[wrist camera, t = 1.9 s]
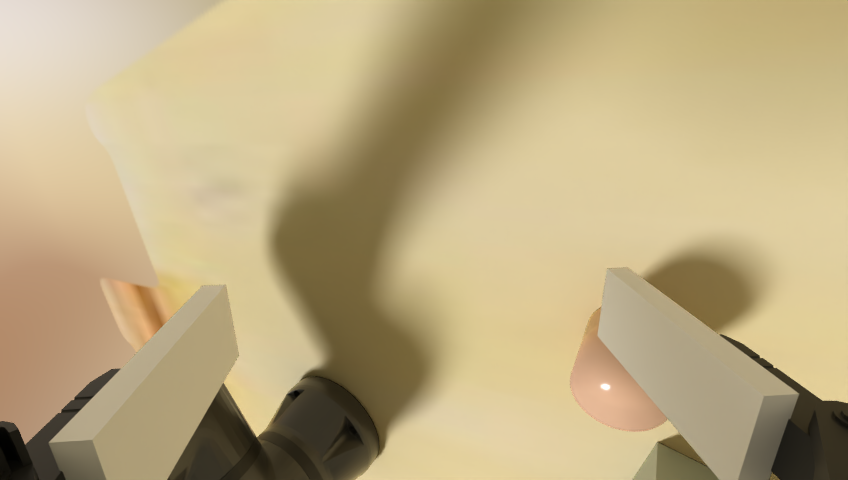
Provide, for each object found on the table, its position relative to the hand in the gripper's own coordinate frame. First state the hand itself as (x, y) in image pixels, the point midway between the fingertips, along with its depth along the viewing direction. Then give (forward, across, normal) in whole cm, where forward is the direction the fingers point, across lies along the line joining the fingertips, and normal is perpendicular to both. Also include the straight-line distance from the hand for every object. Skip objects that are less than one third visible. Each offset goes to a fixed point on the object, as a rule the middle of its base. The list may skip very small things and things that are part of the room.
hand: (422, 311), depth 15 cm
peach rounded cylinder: (+15, -18, +12) cm, 26 cm away
